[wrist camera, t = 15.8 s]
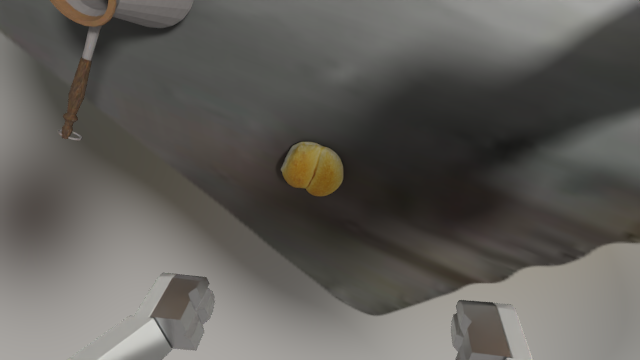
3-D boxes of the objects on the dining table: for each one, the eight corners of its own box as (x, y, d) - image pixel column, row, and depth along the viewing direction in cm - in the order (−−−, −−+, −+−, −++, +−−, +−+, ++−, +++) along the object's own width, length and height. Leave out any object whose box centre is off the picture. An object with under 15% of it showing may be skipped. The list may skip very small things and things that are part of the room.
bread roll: (330, 195, 55) (327, 212, 52) (278, 171, 54) (271, 187, 51) (355, 157, 50) (353, 173, 47) (298, 130, 49) (292, 145, 46)
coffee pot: (106, -125, 34) (-39, -145, 22) (217, -66, 36) (136, -54, 24) (99, 67, 47) (5, 119, 35) (181, 104, 49) (117, 166, 37)
